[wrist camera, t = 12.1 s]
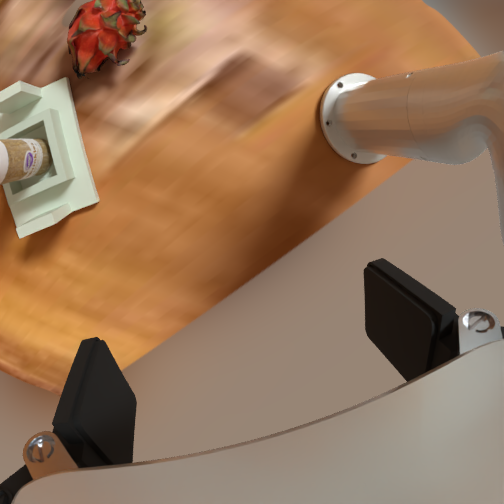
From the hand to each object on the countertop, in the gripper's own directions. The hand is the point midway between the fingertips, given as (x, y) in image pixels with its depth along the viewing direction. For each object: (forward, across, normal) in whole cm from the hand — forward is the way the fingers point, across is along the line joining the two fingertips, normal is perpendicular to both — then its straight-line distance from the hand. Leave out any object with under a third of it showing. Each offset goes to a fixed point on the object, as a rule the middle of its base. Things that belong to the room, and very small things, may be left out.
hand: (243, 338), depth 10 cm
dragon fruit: (+30, +6, -22) cm, 37 cm away
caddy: (+29, +18, -10) cm, 36 cm away
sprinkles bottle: (+28, +18, -10) cm, 35 cm away
